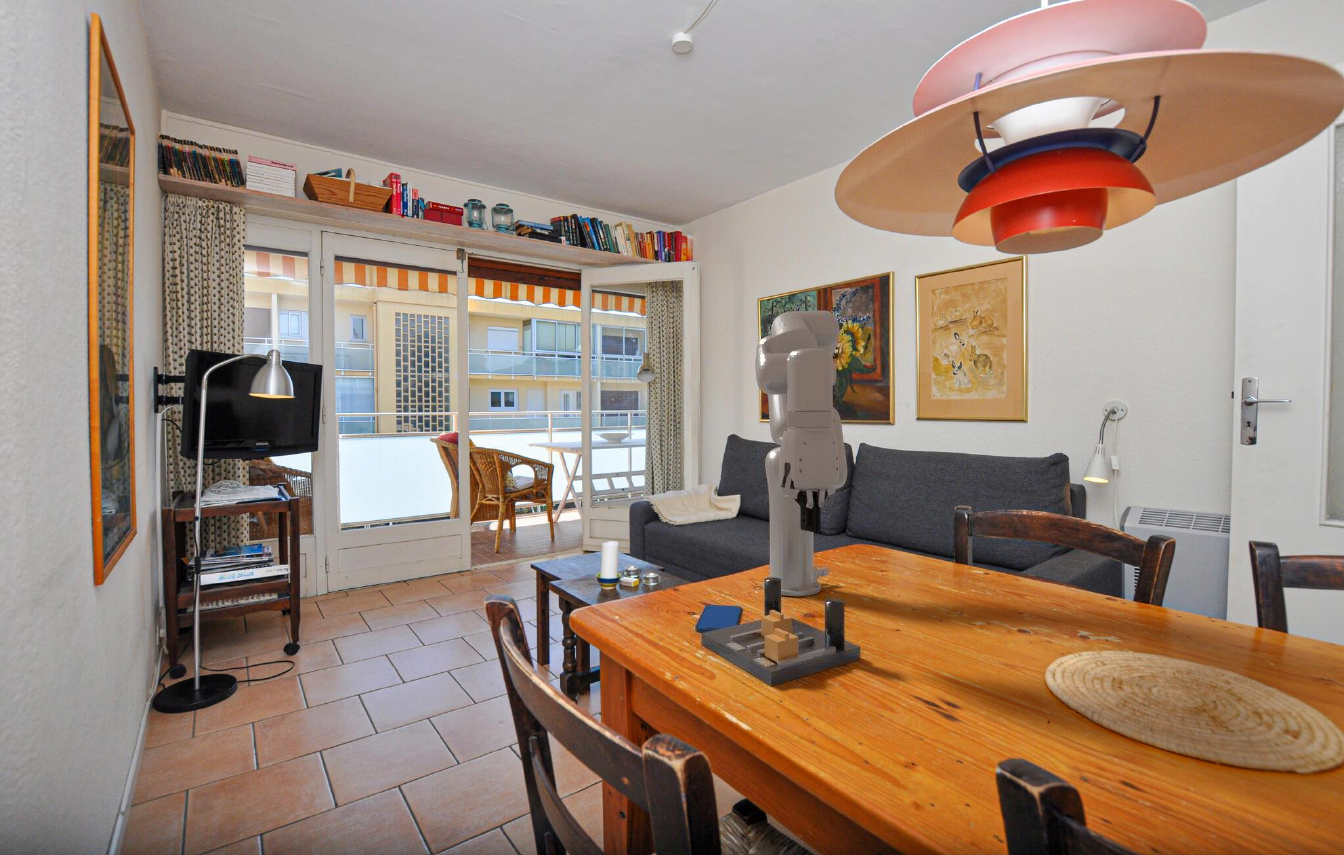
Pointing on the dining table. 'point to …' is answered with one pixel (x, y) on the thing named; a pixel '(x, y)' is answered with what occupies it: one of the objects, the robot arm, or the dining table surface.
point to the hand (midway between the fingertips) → (810, 530)
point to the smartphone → (718, 617)
